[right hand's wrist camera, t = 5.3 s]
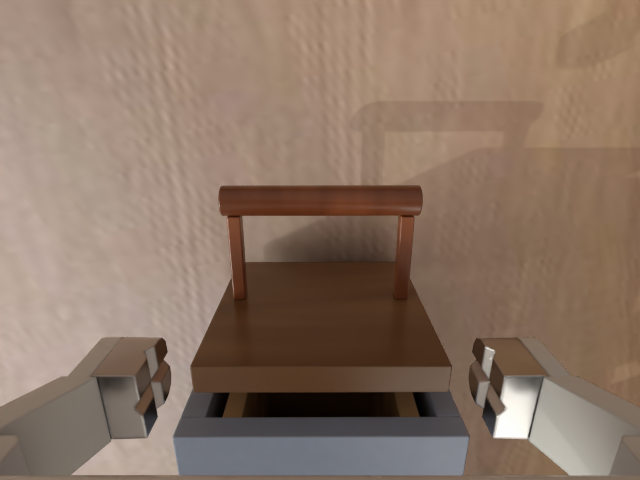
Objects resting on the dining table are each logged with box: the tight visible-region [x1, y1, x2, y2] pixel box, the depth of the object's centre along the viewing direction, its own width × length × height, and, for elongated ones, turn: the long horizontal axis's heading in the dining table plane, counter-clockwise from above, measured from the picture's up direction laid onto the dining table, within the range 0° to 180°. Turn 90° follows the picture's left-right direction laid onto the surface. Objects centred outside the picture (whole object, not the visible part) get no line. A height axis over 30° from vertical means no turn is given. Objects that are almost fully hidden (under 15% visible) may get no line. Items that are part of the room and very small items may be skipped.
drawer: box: [190, 185, 452, 417], centre depth 21 cm, size 24×10×10 cm, turn 0°
